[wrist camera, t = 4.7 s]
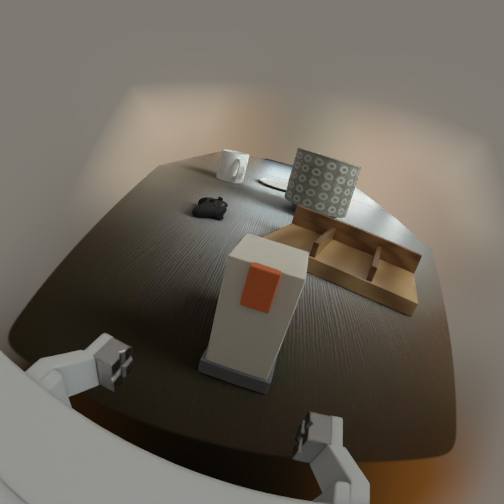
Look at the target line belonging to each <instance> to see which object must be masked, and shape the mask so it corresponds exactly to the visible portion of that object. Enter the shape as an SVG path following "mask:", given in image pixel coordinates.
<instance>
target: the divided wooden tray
mask: <svg viewBox="0 0 504 504" xmlns="http://www.w3.org/2000/svg"><path fill="white" fill-rule="evenodd" d="M262 238H265V239H268V240H271V241H275V242H278V243H281V244H284V245H288V246H291V247H294V248H297V249H300V250H303V251H307V252H309V257H308V266H307V272H309V273H311V274H314V275H316V276H318V277H321V278H323V279H325V280H328V281H330V282H332V283H335V284H337V285H339V286H341V287H344V288H346V289H348V290H351V291H353V292H355V293H358V294H360V295H362V296H365V297H367V298H369V299H371V300H374V301H376V302H378V303H381V304H383V305H385V306H387V307H390V308H392V309H394V310H397V311H399V312H401V313H404V314H406V315H408V316H410V317H411V316H412V315H413V313H414V311H415V309H416V307H417V305H418V299H417V292H416V285H415V278H414V273H415V270H416V268H417V266H418V263H419V261H420V259H421V256H422V255H421V254H419V253H416V252H414V251H412V250H410V249H407V248H405V247H403V246H400V245H398V244H396V243H393V242H391V241H389V240H386V239H384V238H382V237H379V236H377V235H374V234H372V233H369V232H367V231H365V230H362V229H360V228H357V227H355V226H352V225H350V224H347V223H345V222H342V221H339V220H337V219H334V218H332V217H329V216H326V215H324V214H321V213H318V212H316V211H313V210H310V209H308V208H305V207H302V206H300V205H297V207H296V211H295V214H294V217H293V221H292V223H291V224H289V225H287V226H285V227H283V228H281V229H278V230H276V231H274V232H272V233H270V234H268V235H266V236H264V237H262Z"/></svg>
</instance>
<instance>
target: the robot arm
mask: <svg viewBox="0 0 504 504" xmlns="http://www.w3.org/2000/svg"><path fill="white" fill-rule="evenodd" d="M132 353H133V348H132V347H131V346H129V345H127V344H125V343H123V342H121V341H120V340H118V339H116V338H114V337H112V336H110V335H108V334H106V333H103V334H102V335H100V336H99V337H98V338H97V339H96V340H95V341H94V342H93V343H92V344H91V345H90V346H89V347H88V348H86V349H85V350H84V351H83V350H78V351H74V352H69V353H64V354H60V355H55V356H50V357H45V358H40V359H39V360H38V361H37V362H36V363H35V364H33V365H32V366H31V367H30V368H29V369H28V370H27V371H26V372H24V371H23V370H22V369H20V368H19V367H18V366H17V365H16V364H15V363H14V362H13V361H11V360H10V359H9V358H8V357H7V356H6V355H5V354H4V353H3V352H2V351H1V350H0V504H370V483H369V482H368V480H367V479H366V477H365V476H364V474H363V473H362V471H361V470H360V469H359V467H358V465H357V464H356V462H355V461H354V459H353V458H352V456H351V455H350V453H349V452H348V450H347V449H346V447H343V419H342V418H340V417H335V416H330V415H326V414H322V413H317V412H313V411H309V412H308V413H307V414H306V418H305V420H304V421H302V422H301V424H300V425H299V427H298V430H297V433H296V438H295V440H296V442H297V444H296V445H295V447H294V450H293V456H292V459H293V460H298V461H302V462H307V463H310V466H311V468H312V470H313V473H314V475H315V477H316V479H317V482H318V484H319V486H320V488H321V491H322V494H321V495H320V496H318V497H317V498H316V499H314V500H313V501H306V500H300V499H293V498H288V497H283V496H278V495H273V494H269V493H264V492H260V491H256V490H252V489H248V488H244V487H241V486H237V485H234V484H230V483H227V482H224V481H221V480H217V479H214V478H211V477H209V476H206V475H203V474H200V473H197V472H194V471H192V470H189V469H187V468H184V467H182V466H179V465H177V464H174V463H172V462H169V461H167V460H165V459H163V458H160V457H158V456H156V455H154V454H152V453H150V452H147V451H145V450H143V449H141V448H139V447H137V446H135V445H133V444H131V443H129V442H127V441H126V440H124V439H122V438H120V437H118V436H116V435H115V434H113V433H111V432H109V431H107V430H106V429H104V428H102V427H101V426H99V425H97V424H96V423H94V422H92V421H91V420H89V419H88V418H86V417H84V416H83V415H81V414H80V413H78V412H77V411H75V410H74V409H72V408H71V403H70V401H69V398H68V397H69V396H72V395H75V394H77V393H80V392H83V391H85V390H88V389H90V388H93V387H96V386H98V385H99V384H100V385H102V386H104V387H106V388H107V389H109V390H111V391H113V392H115V391H116V390H117V388H118V387H119V386H120V385H121V383H122V381H121V379H122V378H125V377H127V376H128V375H129V373H130V371H131V369H132V366H133V359H132V357H131V355H132Z"/></svg>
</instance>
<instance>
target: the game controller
mask: <svg viewBox="0 0 504 504" xmlns="http://www.w3.org/2000/svg"><path fill="white" fill-rule="evenodd" d="M218 198H219V199H214V198H202V199H200V200H199V202H198V206H197V207H195V208H194V209H193V211H192V214H193V215H194V216H195V217H215V218H216V219H218V220H219V219H221V220H222V219H223V214H224V213H225V212H226V207H227V206H228V204H226V202H224V201H223V198H221V197H218Z"/></svg>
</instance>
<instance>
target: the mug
mask: <svg viewBox="0 0 504 504" xmlns="http://www.w3.org/2000/svg"><path fill="white" fill-rule="evenodd" d="M248 159H249V155H248V154H245V153H242V152H237V151H233V150H227V149H222V153H221V157H220V161H219V166H218V170H217V175H216V178H218V179H220V180H223V181H227V182H231V183H243V180H244V175H245V171H246V167H247V163H248Z"/></svg>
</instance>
